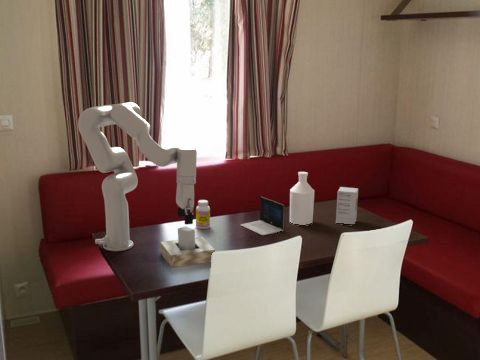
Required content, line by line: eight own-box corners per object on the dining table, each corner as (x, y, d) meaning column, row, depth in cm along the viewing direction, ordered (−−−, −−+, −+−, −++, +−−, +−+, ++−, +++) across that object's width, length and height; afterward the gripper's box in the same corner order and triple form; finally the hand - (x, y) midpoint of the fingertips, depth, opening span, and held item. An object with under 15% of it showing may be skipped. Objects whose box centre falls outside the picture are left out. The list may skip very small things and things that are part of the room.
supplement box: (354, 226, 259) (356, 192, 255) (335, 224, 262) (337, 190, 258) (356, 220, 268) (358, 188, 264) (338, 218, 270) (339, 186, 266)
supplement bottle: (197, 229, 250) (197, 203, 247) (194, 225, 256) (194, 199, 253) (211, 228, 252) (211, 202, 249) (208, 224, 258) (208, 198, 255)
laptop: (239, 226, 257) (240, 200, 254) (260, 221, 265) (260, 196, 262) (262, 236, 243) (263, 209, 240) (283, 231, 250) (284, 204, 247)
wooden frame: (171, 267, 207) (170, 255, 205) (160, 253, 221) (160, 241, 220) (214, 261, 213) (214, 249, 212) (202, 247, 228) (202, 236, 226)
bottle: (288, 218, 270) (290, 169, 264) (311, 218, 270) (314, 170, 264) (289, 225, 258) (291, 175, 253) (314, 226, 258) (316, 175, 252)
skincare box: (196, 257, 217) (195, 229, 214) (187, 260, 214) (187, 231, 211) (186, 253, 221) (185, 225, 218) (177, 256, 218) (177, 228, 215)
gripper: (171, 173, 216) (170, 214, 220) (183, 184, 200) (182, 228, 204) (188, 173, 219) (187, 212, 223) (202, 183, 203) (200, 226, 207)
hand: (185, 220), depth 214 cm, fingers open, 9 cm apart
